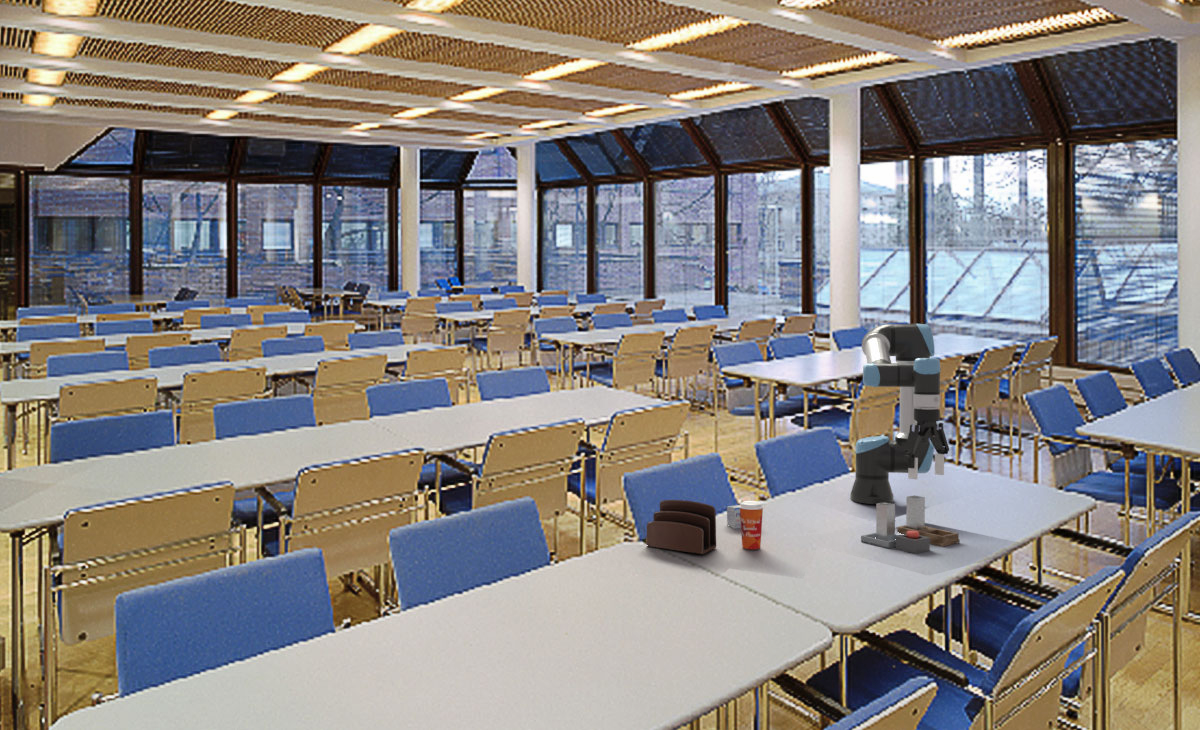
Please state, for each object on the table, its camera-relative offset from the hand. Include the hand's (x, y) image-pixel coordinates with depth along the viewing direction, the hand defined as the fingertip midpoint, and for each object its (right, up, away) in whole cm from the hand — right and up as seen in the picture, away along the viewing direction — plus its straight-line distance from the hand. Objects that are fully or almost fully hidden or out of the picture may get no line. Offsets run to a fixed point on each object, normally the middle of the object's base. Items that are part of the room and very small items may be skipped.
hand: (926, 476), depth 265 cm
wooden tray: (+5, -22, +12) cm, 25 cm away
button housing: (-4, -22, -1) cm, 23 cm away
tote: (-10, -22, +8) cm, 26 cm away
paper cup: (-53, -23, +4) cm, 58 cm away
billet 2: (+2, -21, +16) cm, 26 cm away
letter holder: (-75, -23, +5) cm, 79 cm away
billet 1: (-10, -22, +8) cm, 25 cm away
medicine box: (-53, -22, +26) cm, 63 cm away
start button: (-4, -18, -1) cm, 19 cm away
